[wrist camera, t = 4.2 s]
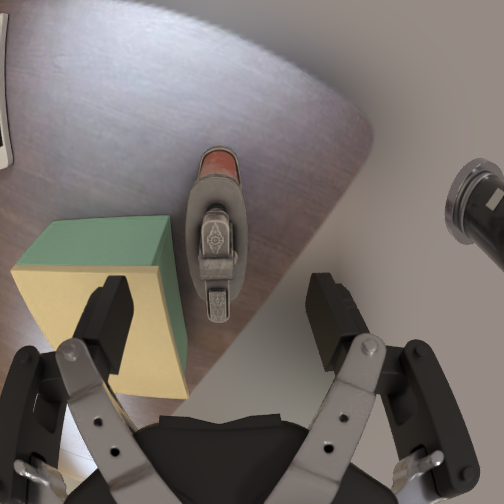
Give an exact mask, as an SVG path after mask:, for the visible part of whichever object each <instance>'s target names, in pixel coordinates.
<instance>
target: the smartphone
mask: <svg viewBox="0 0 504 504" xmlns="http://www.w3.org/2000/svg"><path fill="white" fill-rule="evenodd" d="M7 21H8V14H4V13H1V14H0V169H3V168H6V167H8V166H10V165H11V164H13V156H12V151H11V145H10V138H9V131H8V124H7V114H6V103H5V83H4V60H5V40H6V29H7Z"/></svg>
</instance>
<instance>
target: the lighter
mask: <svg viewBox="0 0 504 504" xmlns="http://www.w3.org/2000/svg"><path fill="white" fill-rule="evenodd" d="M185 237H186V255H187V260H188V265H189V270H190V275H191V278H192V280H193V283H194V286H195V289H196V292H197V294H198V295H199V297H200V298H201V299H203V300H204V301H206V303H207V315H208V318H209V319H210V320H211V321H212V322H225V321H226V320H228V319H229V316H230V303H229V302H231V301H233V300H234V299H236V298H237V297H238V295H239V294H240V291H241V287H242V284H243V280H244V277H245V273H246V265H247V257H248V250H249V248H248V223H247V216H246V210H245V205H244V199H243V193H242V189H241V177H240V171H239V165H238V160H237V156H236V154H235V152H234V151H233V150H232V149H230V148H228V147H225V146H215V147H212V148H210V149H208V150H207V151H206V152H205V153H204V154H203V156H202V159H201V163H200V168H199V174H198V179H197V181H196V182H195V183H194V184H193V187H192V189H191V192H190V195H189V202H188V209H187V216H186V223H185Z"/></svg>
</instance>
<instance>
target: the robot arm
mask: <svg viewBox="0 0 504 504" xmlns="http://www.w3.org/2000/svg"><path fill="white" fill-rule="evenodd" d="M459 226H460V229H461V231H462V233H463V234H464V235H465V236H466V237H467V238H469V239H471V240H472V241H473V242H474V243H475V244H476V245H477V246H478V247H479V248H480V249H481V250H482V251H483V252H484V253H485V254H486V255H487V256H488V257H489V258H490V259H491V260H492V261H493V262H494V263H495V264H496V265H497V266H498V267H499V268H500V269H501V270H502V271H503V272H504V180H502V179H501V178H499V177H498V176H497V175H495V174H494V173H492V172H483V173H481V174H479V175H478V176H477V177H476V178H475V179H474V180H473V181H472V182H471V183H470V185H469V186H468V188H467V190H466V192H465V194H464V196H463V199H462V202H461V205H460V210H459ZM305 304H306V305H305V307H306V313H307V316H308V319H309V322H310V325H311V328H312V331H313V334H314V338H315V341H316V344H317V347H318V350H319V354H320V357H321V360H322V363H323V367H324V369H325V372H328V371H334V373H335V379H334V380H333V382H332V384H331V386H330V389H329V390H328V393H327V394H326V396H325V398H324V400H323V402H322V404H321V406H320V408H319V410H318V412H317V413H316V415H315V417H314V419H313V420H312V422H311V424H310V425H309V427H308V429H306V428H305V427H302V426H300V425H298V424H295V423H291V422H288V421H281V417H280V414H270V415H257V416H249V417H245V418H242V419H238V420H234V421H231V422H227V423H223V424H215V423H211V422H207V421H202V420H198V419H194V418H191V417H177V416H160V417H159V423H154V424H151V425H148V426H146V427H143V428H141V429H140V430H138V429H137V428H136V426H135V425H134V424H133V422H132V421H131V419H130V418H129V417H128V415H127V413H126V412H125V410H124V408H123V407H122V405H121V403H120V402H119V400H118V398H117V396H116V395H115V393H114V391H113V389H112V387H111V386H110V384H109V382H108V379H109V375H110V374H112V375H119V370H120V366H121V361H122V357H123V353H124V349H125V345H126V341H127V337H128V333H129V330H130V326H131V322H132V319H133V315H134V303H133V299H132V295H131V292H130V289H129V285H128V281H127V278H126V276H124V275H109V276H108V277H107V279H106V281H105V283H104V285H103V287H98V288H97V289H96V290H95V291H94V292H93V293H92V294H91V295H90V297H89V299H88V301H87V305H86V306H85V308H84V312H82V315H81V317H80V319H79V322H78V324H77V326H76V329H75V331H74V334H73V336H72V338H70V339H67V340H65V341H63V342H62V343H61V344H60V345H59V346H58V348H57V350H56V351H54V352H48V353H42V354H40V353H39V351H38V350H37V349H36V348H35V347H34V346H24V347H22V348H21V349H19V350H18V351H17V353H16V354H15V356H14V359H13V361H12V364H11V367H10V369H9V372H8V375H7V378H6V381H5V384H4V387H3V390H2V393H1V397H0V504H436V503H439V502H442V501H445V500H448V499H451V498H453V497H456V496H459V495H461V494H464V493H466V492H468V491H470V490H472V489H473V488H474V487H475V486H476V484H477V482H478V480H479V477H480V467H479V464H478V460H477V457H476V454H475V450H474V447H473V444H472V441H471V439H470V436H469V433H468V430H467V427H466V425H465V422H464V420H463V417H462V414H461V412H460V409H459V407H458V405H457V402H456V400H455V397H454V395H453V393H452V390H451V388H450V386H449V384H448V381H447V379H446V377H445V375H444V373H443V371H442V368H441V366H440V364H439V362H438V360H437V358H436V356H435V354H434V352H433V350H432V348H431V347H430V346H429V345H428V344H427V343H425V342H424V341H421V340H416V339H415V340H411V341H409V342H408V343H407V344H406V346H405V347H404V348H402V347H392V346H387V345H385V343H384V342H383V341H382V340H381V339H380V338H379V337H378V336H376V335H373V334H370V332H369V330H368V328H367V326H366V324H365V322H364V320H363V318H362V316H361V314H360V312H359V310H358V308H357V306H356V304H355V302H354V301H353V298H352V296H351V294H350V292H349V291H348V290H347V289H346V288H345V287H344V286H343V285H342V284H335V282H334V280H333V278H332V276H331V274H330V273H312V275H311V278H310V283H309V287H308V292H307V296H306V302H305ZM37 394H38V395H37ZM376 394H380V395H381V398H382V402H383V405H384V408H385V411H386V415H387V418H388V421H389V424H390V428H391V432H392V435H393V439H394V442H395V446H396V450H397V453H398V457H399V462H398V463H397V465H396V466H395V469H394V472H393V486H392V488H391V490H390V489H389V488H388V487H386V486H385V485H383V484H382V483H380V482H379V481H377V480H376V479H374V478H372V477H371V476H369V475H368V474H367V473H365V472H364V471H363V470H361V469H359V468H358V467H357V466H355V465H354V464H353V463H351V462H350V461H351V458H352V456H353V454H354V452H355V450H356V447H357V445H358V443H359V441H360V438H361V436H362V433H363V431H364V429H365V426H366V423H367V421H368V418H369V416H370V413H371V410H372V407H373V405H374V402H375V399H376ZM36 396H37V399H36ZM35 400H36V403H35ZM34 404H35V408H34ZM67 404H68V407H69V409H70V412H71V414H72V416H73V419H74V421H75V423H76V425H77V428H78V430H79V432H80V434H81V436H82V438H83V440H84V442H85V444H86V446H87V448H88V450H89V452H90V454H91V456H92V458H93V460H94V461H95V463H96V465H97V467H98V468H97V469H96V470H95V471H94V472H93V473H92V474H91V475H90V476H89V477H88V478H87V479H85V480H84V481H83V482H82V483H81V484H80V485H79V486H78V487H77V488H76V489H75V490H74V491H72V492H71V493H70V494H69V495H67V493H66V484H65V483H64V480H63V477H62V475H61V474H60V472H59V471H58V459H59V450H60V442H61V435H62V428H63V422H64V416H65V411H66V406H67ZM33 408H34V412H33Z"/></svg>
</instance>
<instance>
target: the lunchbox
mask: <svg viewBox="0 0 504 504" xmlns="http://www.w3.org/2000/svg"><path fill="white" fill-rule="evenodd" d="M16 265H69V266H159V269H160V274H161V280H162V285H163V290H164V295H165V300H166V305H167V309H168V314H169V318H170V323H171V327H172V331H173V336H174V340H175V344H176V348H177V352H178V355H179V359H180V363H181V367H182V370H183V374H184V377H185V371H186V358H187V345H188V339H187V333H186V328H185V322H184V317H183V311H182V305H181V299H180V293H179V286H178V280H177V273H176V266H175V258H174V250H173V242H172V233H171V224H170V216H169V215H156V216H129V217H108V218H90V219H74V220H59V221H53V222H52V223H51V224H50V225H49V226H48V227H47V228H46V229H45V230H44V231H43V232H42V234H41V235H40V236H39V237H38V238H37V239H36V240H35V241H34V242H33V244H32V245H31V246H30V247H29V248H28V249H27V251H26V252H25V253H24V254H23V255H22V256H21V258H20V259H19V260H18V261H17V263H16Z"/></svg>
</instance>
